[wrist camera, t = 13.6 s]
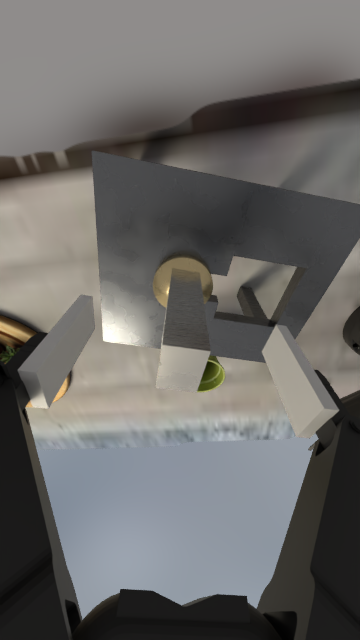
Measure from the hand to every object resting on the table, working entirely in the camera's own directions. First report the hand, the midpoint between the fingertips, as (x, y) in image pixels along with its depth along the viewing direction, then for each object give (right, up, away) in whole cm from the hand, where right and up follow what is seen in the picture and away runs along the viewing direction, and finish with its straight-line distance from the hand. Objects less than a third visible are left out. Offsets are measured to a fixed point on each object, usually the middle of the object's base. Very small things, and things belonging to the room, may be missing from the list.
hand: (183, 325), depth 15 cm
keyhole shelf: (+3, +13, +19) cm, 23 cm away
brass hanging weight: (0, +9, +12) cm, 15 cm away
